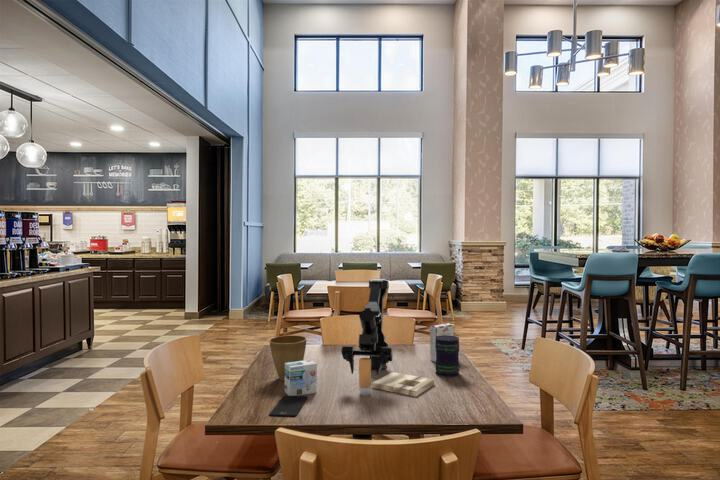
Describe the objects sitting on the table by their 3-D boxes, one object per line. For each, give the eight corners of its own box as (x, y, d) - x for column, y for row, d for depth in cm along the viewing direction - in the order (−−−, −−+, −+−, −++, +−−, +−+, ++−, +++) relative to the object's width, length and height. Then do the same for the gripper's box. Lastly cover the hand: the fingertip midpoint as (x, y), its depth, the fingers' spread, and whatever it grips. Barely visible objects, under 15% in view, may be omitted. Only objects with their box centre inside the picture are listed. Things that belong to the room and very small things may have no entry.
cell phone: (268, 417, 145) (268, 414, 145) (283, 397, 163) (283, 395, 163) (295, 418, 144) (295, 415, 144) (308, 398, 162) (308, 395, 162)
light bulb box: (289, 397, 162) (289, 367, 162) (283, 391, 168) (283, 362, 168) (317, 392, 167) (317, 363, 167) (311, 387, 173) (310, 359, 173)
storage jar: (430, 371, 193) (430, 336, 193) (450, 369, 196) (450, 334, 196) (443, 378, 183) (443, 341, 183) (464, 375, 187) (464, 339, 187)
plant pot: (285, 371, 194) (285, 333, 194) (314, 376, 187) (313, 337, 187) (261, 380, 181) (261, 340, 181) (291, 386, 174) (290, 344, 174)
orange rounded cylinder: (356, 394, 165) (356, 359, 165) (363, 390, 169) (363, 357, 169) (367, 396, 163) (366, 361, 163) (373, 393, 166) (373, 358, 166)
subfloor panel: (372, 387, 172) (372, 382, 172) (392, 377, 186) (392, 371, 186) (415, 396, 162) (415, 390, 162) (434, 384, 176) (434, 379, 176)
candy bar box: (448, 357, 216) (447, 322, 216) (455, 359, 212) (455, 324, 212) (429, 360, 211) (429, 325, 211) (436, 363, 206) (436, 326, 206)
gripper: (342, 324, 172) (335, 361, 161) (391, 325, 169) (388, 363, 158) (346, 340, 179) (340, 377, 168) (393, 342, 176) (391, 379, 165)
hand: (364, 374), depth 165 cm, fingers open, 9 cm apart
